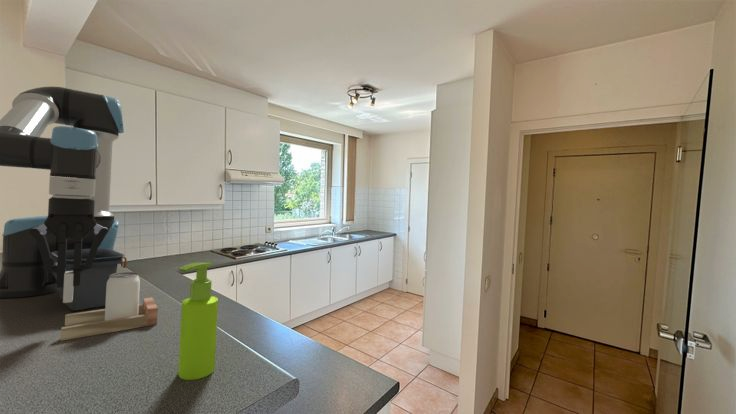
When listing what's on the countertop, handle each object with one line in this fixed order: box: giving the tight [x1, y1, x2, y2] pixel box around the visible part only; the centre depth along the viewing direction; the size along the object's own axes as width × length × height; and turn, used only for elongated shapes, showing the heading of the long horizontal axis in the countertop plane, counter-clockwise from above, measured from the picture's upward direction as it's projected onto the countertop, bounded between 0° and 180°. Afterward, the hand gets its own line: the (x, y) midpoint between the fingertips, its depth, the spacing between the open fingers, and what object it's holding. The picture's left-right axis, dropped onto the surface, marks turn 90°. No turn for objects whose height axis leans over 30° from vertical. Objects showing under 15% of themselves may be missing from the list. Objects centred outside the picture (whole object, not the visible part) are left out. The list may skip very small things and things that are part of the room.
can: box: [104, 271, 141, 321], centre depth 76 cm, size 6×6×12 cm
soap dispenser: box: [177, 261, 219, 381], centre depth 57 cm, size 6×7×20 cm
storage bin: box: [51, 248, 128, 312], centre depth 91 cm, size 21×16×14 cm
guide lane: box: [60, 296, 159, 342], centre depth 75 cm, size 10×17×4 cm, turn 130°
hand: (68, 300), depth 71 cm, fingers closed
